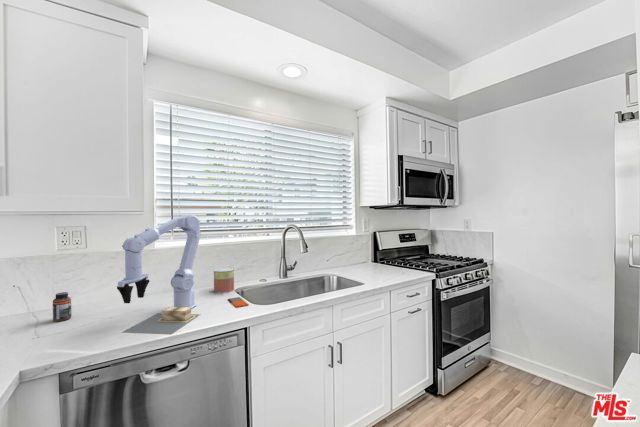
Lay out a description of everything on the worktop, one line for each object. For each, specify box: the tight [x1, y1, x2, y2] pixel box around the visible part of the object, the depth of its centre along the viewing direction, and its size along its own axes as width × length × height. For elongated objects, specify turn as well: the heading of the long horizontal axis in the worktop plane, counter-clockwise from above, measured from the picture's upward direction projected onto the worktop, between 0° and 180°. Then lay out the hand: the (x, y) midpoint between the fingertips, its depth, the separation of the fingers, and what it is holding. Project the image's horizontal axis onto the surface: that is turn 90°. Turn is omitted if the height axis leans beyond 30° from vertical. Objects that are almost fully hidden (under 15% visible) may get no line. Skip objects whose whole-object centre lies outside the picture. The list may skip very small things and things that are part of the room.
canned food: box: [213, 267, 235, 294], centre depth 171 cm, size 11×11×12 cm
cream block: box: [161, 306, 192, 321], centre depth 125 cm, size 10×4×4 cm, turn 83°
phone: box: [227, 296, 250, 309], centre depth 148 cm, size 6×1×15 cm
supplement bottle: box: [52, 291, 72, 323], centre depth 126 cm, size 6×6×11 cm
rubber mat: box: [121, 312, 201, 335], centre depth 120 cm, size 21×20×1 cm
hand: (134, 300), depth 121 cm, fingers open, 7 cm apart
